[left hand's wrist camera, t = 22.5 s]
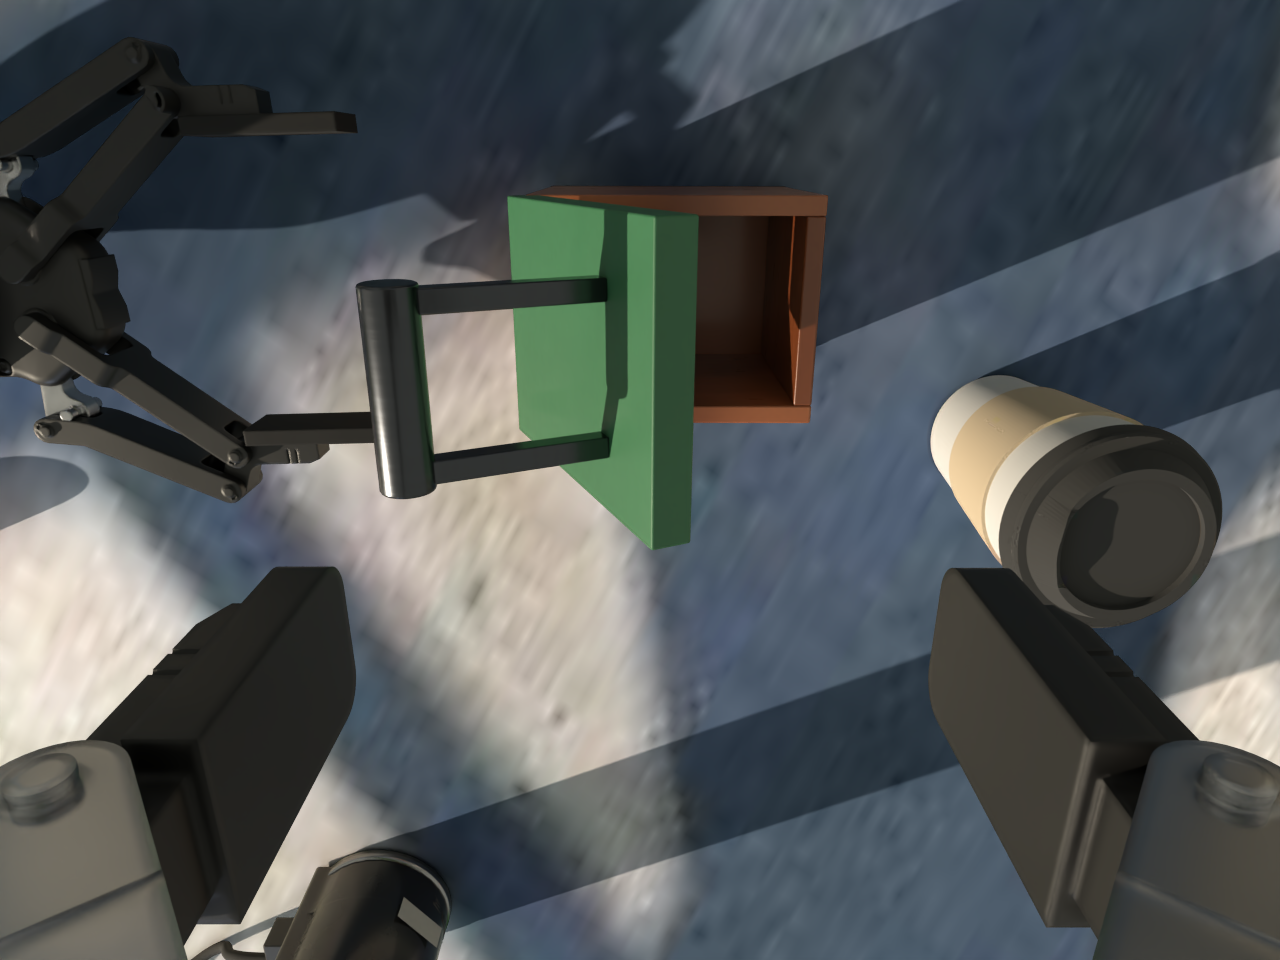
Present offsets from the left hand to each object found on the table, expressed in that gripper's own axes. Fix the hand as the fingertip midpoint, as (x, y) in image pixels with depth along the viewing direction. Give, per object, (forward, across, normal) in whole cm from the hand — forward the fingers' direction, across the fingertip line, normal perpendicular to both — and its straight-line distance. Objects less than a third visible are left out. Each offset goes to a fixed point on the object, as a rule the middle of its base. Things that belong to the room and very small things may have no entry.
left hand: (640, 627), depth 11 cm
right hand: (+29, +12, 0) cm, 32 cm away
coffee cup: (+35, -20, +9) cm, 41 cm away
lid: (+18, +1, 0) cm, 18 cm away
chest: (+35, -1, 0) cm, 35 cm away
